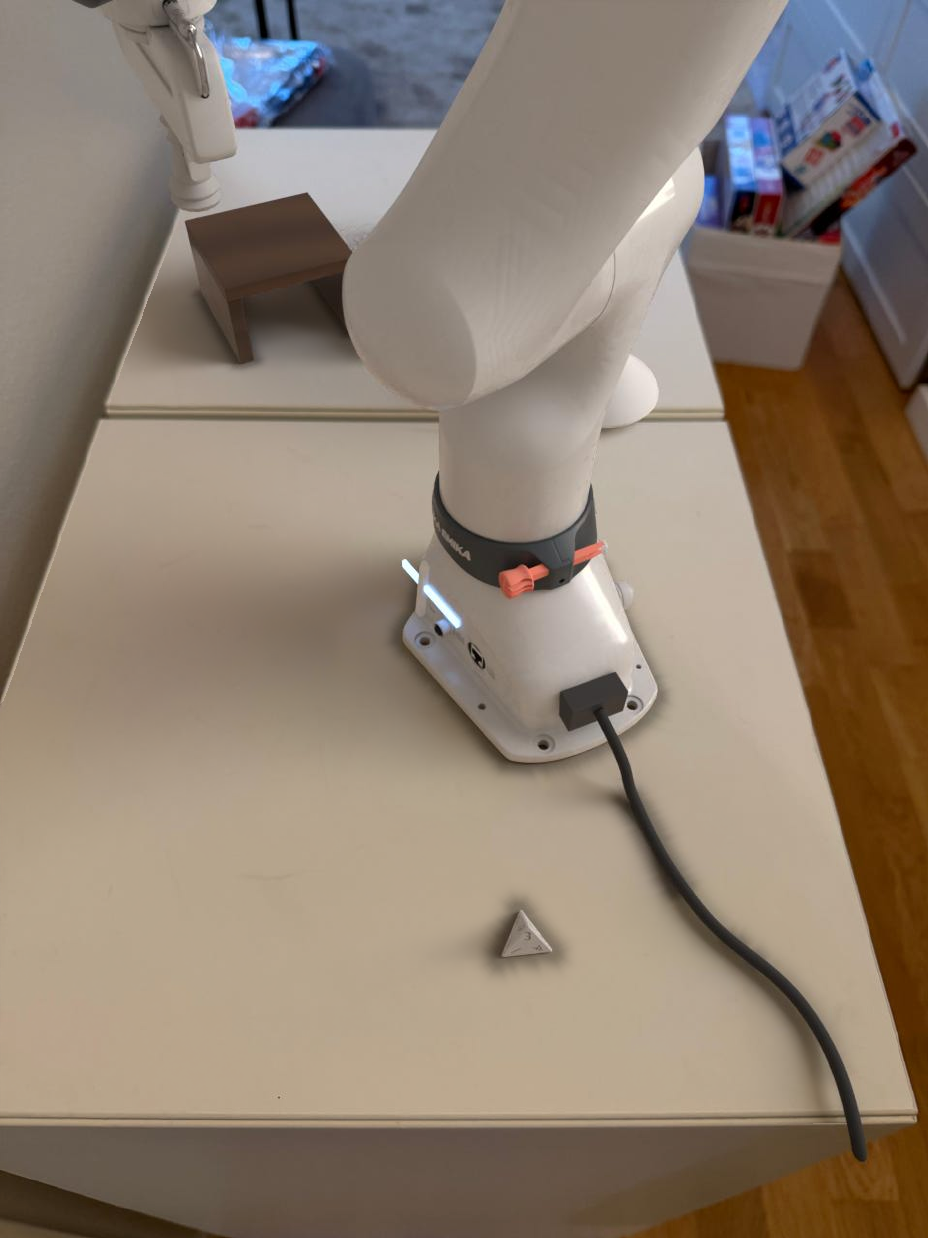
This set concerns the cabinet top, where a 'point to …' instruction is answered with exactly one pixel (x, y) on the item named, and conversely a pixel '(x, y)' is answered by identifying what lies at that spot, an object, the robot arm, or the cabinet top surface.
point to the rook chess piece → (190, 181)
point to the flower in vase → (632, 395)
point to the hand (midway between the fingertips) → (192, 164)
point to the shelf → (265, 258)
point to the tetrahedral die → (524, 939)
